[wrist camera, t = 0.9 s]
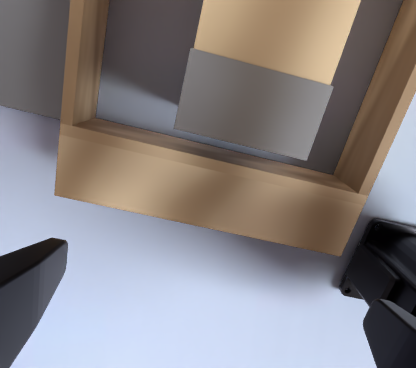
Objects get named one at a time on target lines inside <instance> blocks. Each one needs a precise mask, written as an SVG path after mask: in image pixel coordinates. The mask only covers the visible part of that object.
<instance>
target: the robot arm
mask: <svg viewBox="0 0 416 368" xmlns="http://www.w3.org/2000/svg"><path fill="white" fill-rule="evenodd" d="M378 224H379V226H378V227H377V228H375V226H376V225H378ZM67 251H68V243H67V241H66V240H62V239H57V238H49V239H47V240H44V241H41V242H38V243H36V244H33V245H30V246H27V247H25V248H22V249H19V250H16V251H14V252H11V253H8V254H5V255H3V256H0V368H10V366H11V365H12V363H13V362H14V360H15V359H16V357H17V355H18V354H19V352H20V351H21V349H22V348H23V346H24V345H25V343H26V342H27V340H28V339H29V337H30V336H31V334H32V333H33V331H34V330H35V328H36V326H37V325H38V323H39V321H40V319H41V317H42V316H43V314H44V312H45V310H46V308H47V306H48V304H49V302H50V300H51V298H52V296H53V294H54V292H55V290H56V288H57V287H58V285H59V283H60V281H61V279H62V277H63V275H64V272H65V269H66V263H67ZM346 288H348V289H347V290H345V289H346ZM339 290H340V291H341V293H342V294H343V295H344V296H348V297H353V298H358V299H363V300H365V302H366V303H367V304H368V306H369V307H370V308H369V310H368V312H367V314H366V316H365V318H364V320H363V328H364V331H365V334H366V337H367V340H368V343H369V346H370V349H371V352H372V355H373V358H374V361H375V364H376V366H377V368H416V227H412V226H407V225H403V224H399V223H394V222H390V221H386V220H381V219H373V220H372V221H370V223H369V224H368V226H367V229H366V231H365V233H364V235H363V237H362V239H361V241H360V243H359V245H358V247H357V249H356V251H355V253H354V255H353V257H352V259H351V262H350V264H349V266H348V268H347V270H346V272H345V275H344V277H343V280H342V282H341V284H340V286H339Z"/></svg>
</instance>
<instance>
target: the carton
mask: <svg viewBox="0 0 416 368" xmlns="http://www.w3.org/2000/svg"><path fill="white" fill-rule="evenodd" d="M109 1H110V0H70V11H69V24H68V36H67V48H66V60H65V72H64V84H63V96H62V109H61V121H60V133H59V145H58V157H57V169H56V181H55V193H54V195H55V196H60V197H65V198H69V199H74V200H79V201H83V202H88V203H93V204H97V205H102V206H107V207H111V208H116V209H121V210H125V211H130V212H135V213H139V214H144V215H149V216H153V217H158V218H163V219H167V220H172V221H177V222H181V223H186V224H191V225H195V226H200V227H205V228H209V229H214V230H219V231H223V232H228V233H233V234H237V235H242V236H247V237H251V238H256V239H261V240H265V241H270V242H275V243H279V244H284V245H289V246H293V247H298V248H303V249H307V250H312V251H317V252H321V253H326V254H331V255H335V256H340V257H341V255H342V253H343V250H344V248H345V246H346V244H347V242H348V239H349V237H350V235H351V233H352V231H353V228H354V226H355V224H356V222H357V220H358V217H359V215H360V213H361V211H362V209H363V206H364V204H365V202H366V200H367V198H368V195H369V193H370V191H371V189H372V187H373V184H374V182H375V180H376V178H377V176H378V173H379V171H380V169H381V167H382V165H383V162H384V160H385V158H386V156H387V154H388V151H389V149H390V147H391V145H392V143H393V140H394V138H395V136H396V134H397V132H398V129H399V127H400V125H401V123H402V121H403V118H404V116H405V114H406V112H407V110H408V107H409V105H410V103H411V101H412V99H413V96H414V94H415V92H416V0H403V3H402V5H401V8H400V10H399V13H398V15H397V17H396V20H395V22H394V25H393V27H392V30H391V32H390V35H389V37H388V40H387V42H386V45H385V47H384V50H383V52H382V55H381V57H380V60H379V62H378V65H377V67H376V70H375V72H374V75H373V77H372V80H371V82H370V85H369V87H368V89H367V92H366V94H365V97H364V99H363V102H362V104H361V107H360V109H359V112H358V114H357V117H356V119H355V122H354V124H353V127H352V129H351V132H350V134H349V137H348V139H347V142H346V144H345V147H344V149H343V152H342V154H341V157H340V159H339V161H338V164H337V166H336V169H335V171H334V174H333V175H331V174H327V173H323V172H318V171H314V170H310V169H306V168H302V167H298V166H293V165H289V164H285V163H281V162H277V161H273V160H269V159H264V158H260V157H256V156H252V155H248V154H244V153H239V152H235V151H231V150H227V149H223V148H219V147H215V146H210V145H206V144H202V143H198V142H194V141H190V140H185V139H181V138H177V137H173V136H169V135H165V134H161V133H156V132H152V131H148V130H144V129H140V128H136V127H131V126H127V125H123V124H119V123H115V122H111V121H106V120H102V119H98V118H95V117H96V109H97V101H98V92H99V84H100V76H101V67H102V59H103V51H104V42H105V34H106V26H107V17H108V9H109Z"/></svg>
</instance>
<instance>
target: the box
mask: <svg viewBox="0 0 416 368" xmlns="http://www.w3.org/2000/svg"><path fill="white" fill-rule="evenodd" d="M360 2H361V0H204V1H203V6H202V11H201V15H200V20H199V25H198V30H197V34H196V39H195V44H194V48H190V52H189V57H188V62H187V67H186V72H185V77H184V81H183V86H182V91H181V96H180V101H179V105H178V110H177V115H176V120H175V125H174V129H177V130H181V131H186V132H190V133H194V134H198V135H202V136H206V137H210V138H214V139H218V140H223V141H227V142H231V143H235V144H239V145H243V146H247V147H251V148H255V149H260V150H264V151H268V152H272V153H276V154H280V155H284V156H288V157H292V158H297V159H301V160H305V161H307V159H308V156H309V153H310V150H311V148H312V145H313V142H314V140H315V137H316V134H317V131H318V129H319V126H320V123H321V120H322V118H323V115H324V112H325V109H326V107H327V104H328V101H329V99H330V96H331V93H332V90H333V88H334V86H331V82H332V79H333V76H334V74H335V71H336V68H337V65H338V63H339V60H340V57H341V54H342V52H343V49H344V46H345V43H346V41H347V38H348V35H349V32H350V29H351V27H352V24H353V21H354V18H355V16H356V13H357V10H358V7H359V5H360Z"/></svg>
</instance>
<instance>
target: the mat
mask: <svg viewBox="0 0 416 368" xmlns="http://www.w3.org/2000/svg"><path fill="white" fill-rule="evenodd" d="M69 11H70V0H0V106H5V107H9V108H13V109H17V110H21V111H26V112H30V113H34V114H38V115H42V116H47V117H51V118H55V119H59V120H61V109H62V96H63V84H64V72H65V60H66V48H67V36H68V24H69Z"/></svg>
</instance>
